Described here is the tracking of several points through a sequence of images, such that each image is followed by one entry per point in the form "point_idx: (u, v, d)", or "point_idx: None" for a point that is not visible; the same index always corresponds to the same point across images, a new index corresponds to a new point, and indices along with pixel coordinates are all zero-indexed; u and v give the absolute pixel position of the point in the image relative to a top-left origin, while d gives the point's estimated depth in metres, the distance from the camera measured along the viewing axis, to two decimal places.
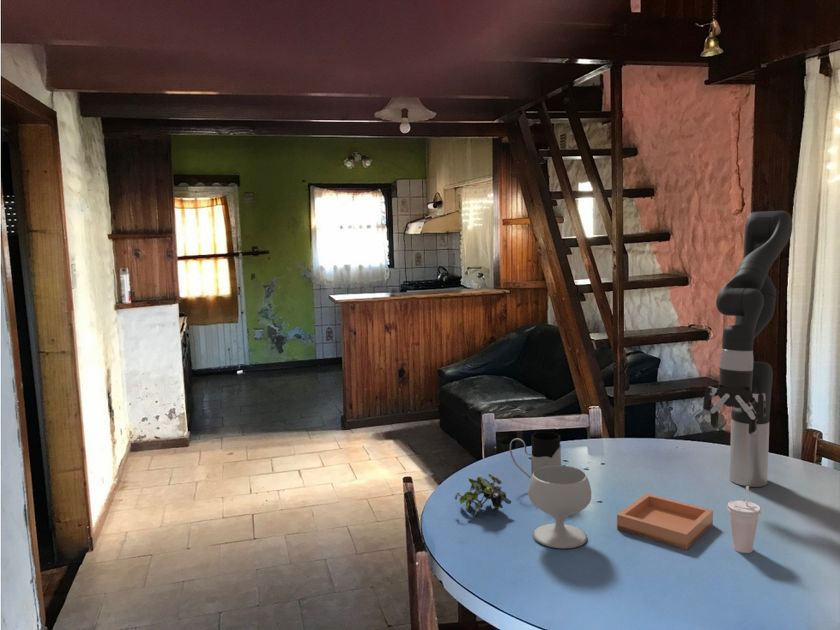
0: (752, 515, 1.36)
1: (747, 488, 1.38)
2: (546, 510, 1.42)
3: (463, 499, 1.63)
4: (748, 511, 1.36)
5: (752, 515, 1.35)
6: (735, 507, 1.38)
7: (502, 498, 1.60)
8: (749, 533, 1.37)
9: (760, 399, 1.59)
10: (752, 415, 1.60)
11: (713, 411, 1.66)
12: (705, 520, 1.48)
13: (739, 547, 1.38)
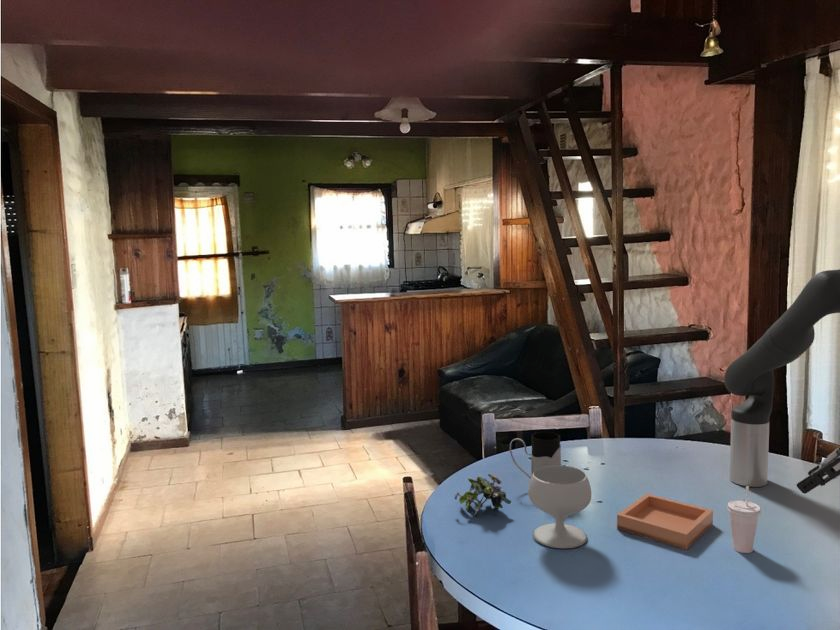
0: (752, 515, 1.36)
1: (747, 488, 1.38)
2: (546, 510, 1.42)
3: (463, 499, 1.63)
4: (748, 511, 1.36)
5: (752, 515, 1.35)
6: (735, 507, 1.38)
7: (502, 498, 1.60)
8: (749, 533, 1.37)
9: None
10: None
11: None
12: (705, 520, 1.48)
13: (739, 547, 1.38)
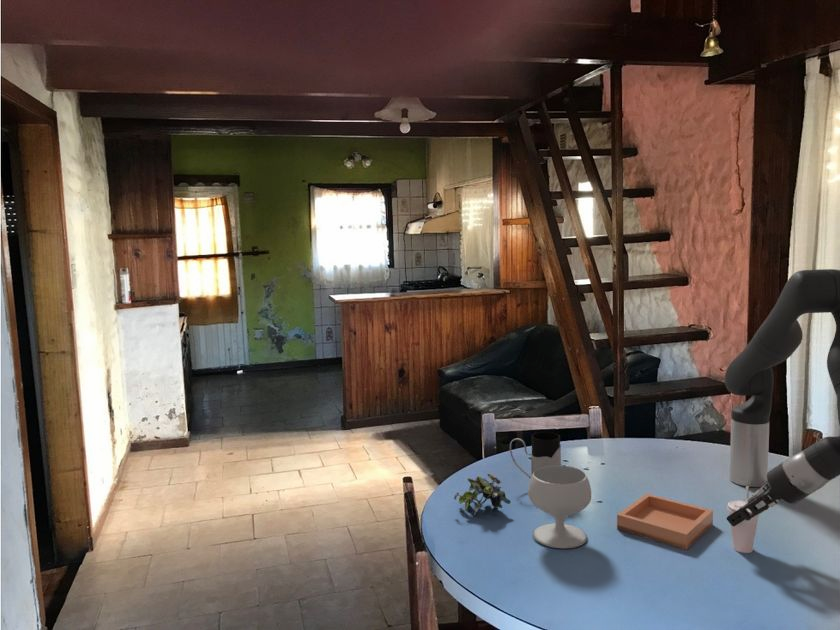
0: None
1: (747, 488, 1.38)
2: (546, 510, 1.42)
3: (462, 499, 1.63)
4: (748, 511, 1.36)
5: None
6: (735, 507, 1.38)
7: (501, 498, 1.61)
8: (749, 533, 1.37)
9: None
10: None
11: None
12: (705, 520, 1.48)
13: (739, 547, 1.38)
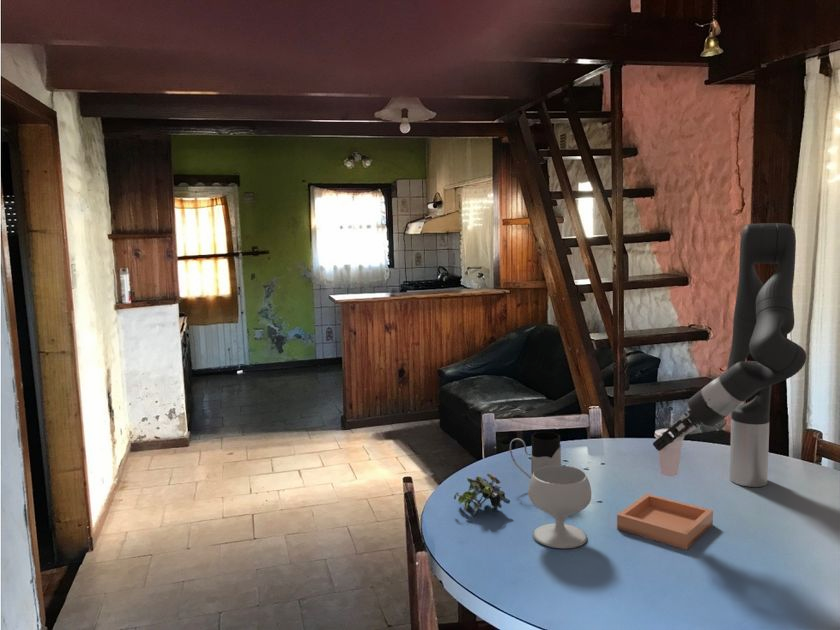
0: (676, 440, 1.45)
1: (672, 415, 1.47)
2: (546, 510, 1.42)
3: (462, 499, 1.63)
4: (672, 436, 1.45)
5: (676, 439, 1.45)
6: (660, 434, 1.48)
7: (501, 498, 1.61)
8: (674, 457, 1.46)
9: None
10: None
11: None
12: (705, 520, 1.48)
13: (665, 471, 1.48)
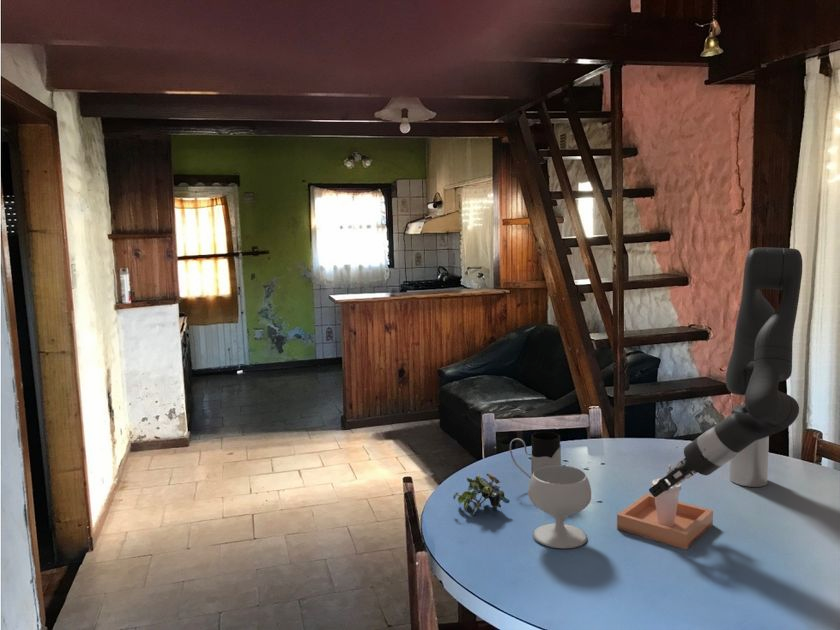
0: (672, 491, 1.47)
1: (669, 466, 1.49)
2: (546, 510, 1.42)
3: (461, 499, 1.64)
4: None
5: (672, 491, 1.47)
6: None
7: (500, 497, 1.61)
8: (670, 507, 1.48)
9: None
10: None
11: None
12: (705, 520, 1.48)
13: (662, 521, 1.49)
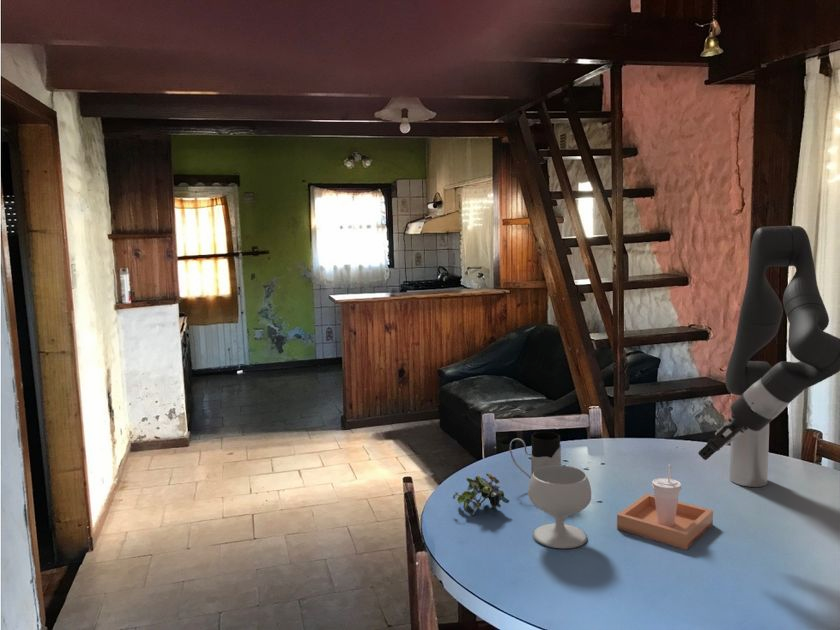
0: (673, 491, 1.47)
1: (669, 466, 1.49)
2: (546, 510, 1.42)
3: (461, 498, 1.64)
4: (669, 487, 1.47)
5: (672, 490, 1.47)
6: (658, 484, 1.49)
7: (500, 497, 1.61)
8: (670, 507, 1.48)
9: None
10: None
11: None
12: (705, 520, 1.48)
13: (662, 520, 1.49)
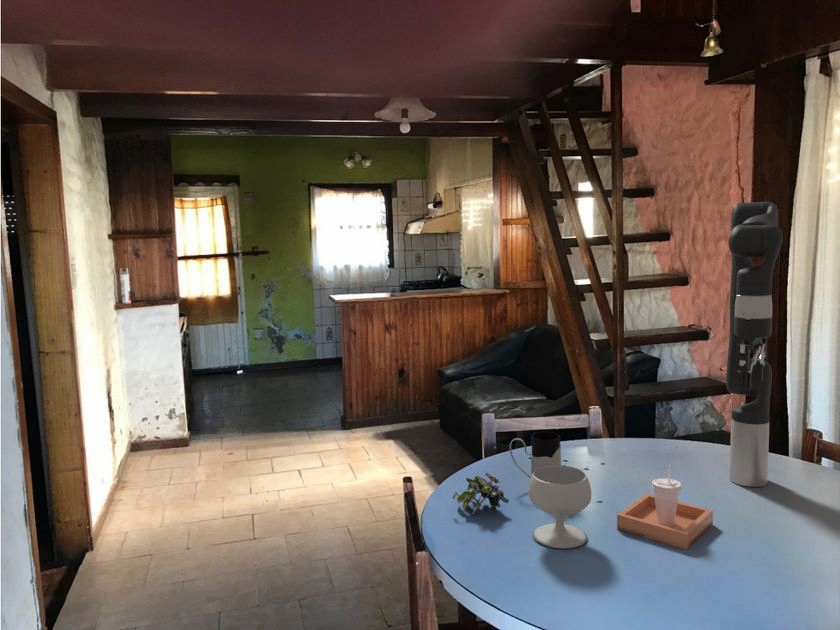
0: (673, 491, 1.47)
1: (669, 466, 1.49)
2: (546, 510, 1.42)
3: (461, 498, 1.64)
4: (669, 487, 1.47)
5: (672, 491, 1.47)
6: (658, 484, 1.49)
7: (500, 497, 1.61)
8: (670, 507, 1.48)
9: (766, 343, 1.50)
10: (763, 361, 1.49)
11: None
12: (705, 520, 1.48)
13: (662, 521, 1.49)
